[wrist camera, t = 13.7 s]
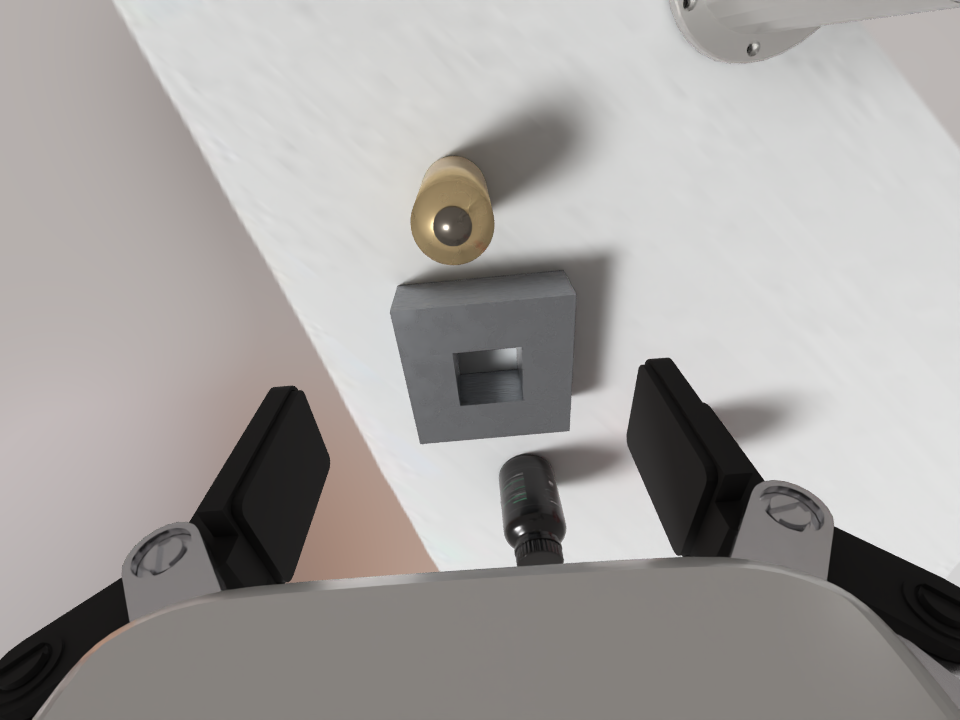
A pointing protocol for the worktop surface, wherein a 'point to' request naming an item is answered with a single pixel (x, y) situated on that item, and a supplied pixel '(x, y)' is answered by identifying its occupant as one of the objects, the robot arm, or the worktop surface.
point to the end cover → (453, 212)
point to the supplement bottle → (532, 511)
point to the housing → (487, 326)
